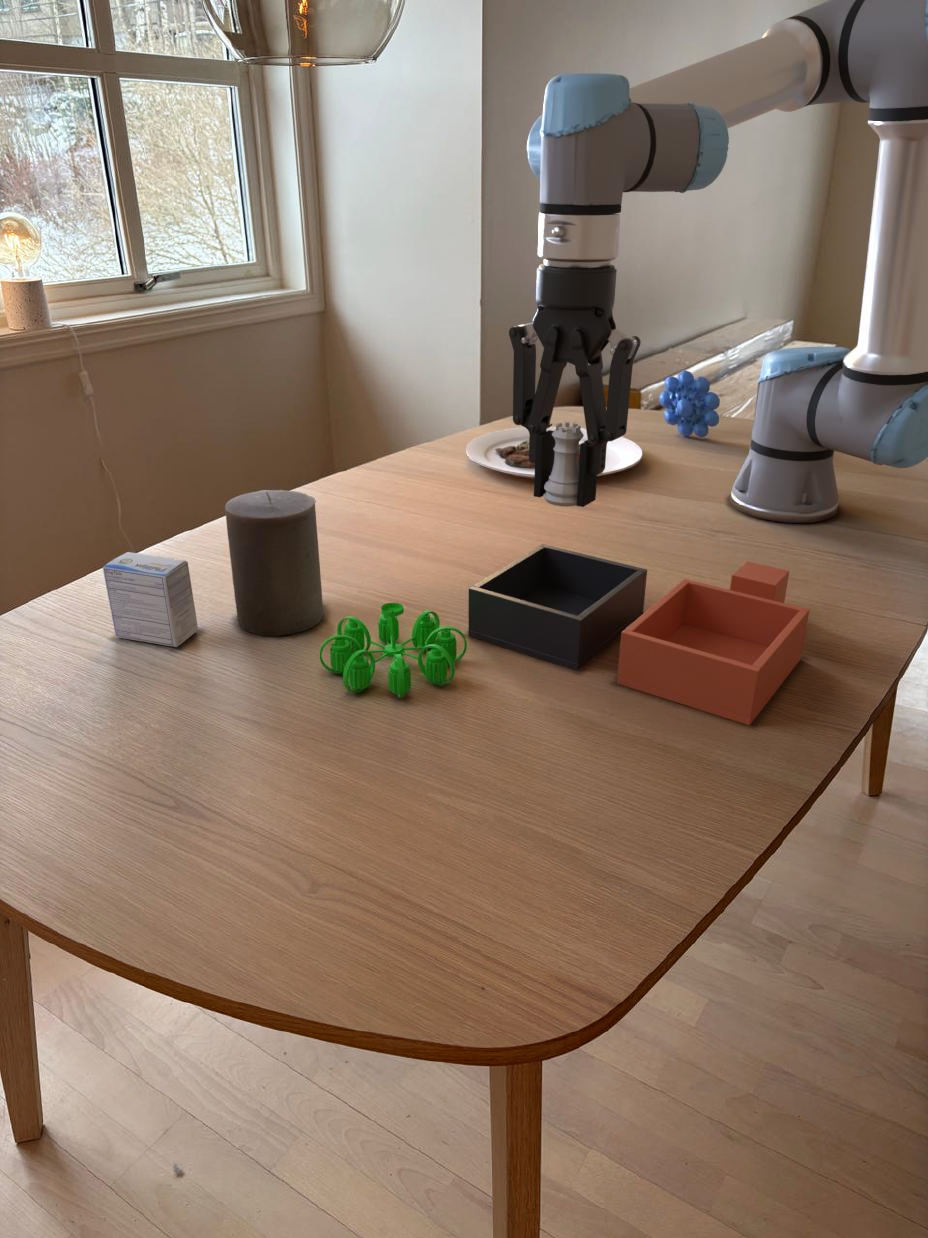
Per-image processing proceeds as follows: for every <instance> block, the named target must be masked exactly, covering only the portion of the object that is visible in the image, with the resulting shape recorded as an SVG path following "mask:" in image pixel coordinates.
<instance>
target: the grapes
mask: <svg viewBox="0 0 928 1238" xmlns="http://www.w3.org/2000/svg"><path fill="white" fill-rule="evenodd" d="M664 388H665V390H664V391H661V392H660V394H659V395H658V402H659V404H660V405H661V407H663V408H665V409H666V410H665V411H664V413H663V418H664V420H665V422H666V423H667V424H668V425H671V426H676V425H677V426H676V428H677V429H676V430H677V432H678V434H680V435H681V436H683V437H690V436H691V435H692V434H693V433H694V435H695V436H696V437H698V438H704V437H706V436H707V435H708V434H709V427H711V428H714V427H716V426H718V424H719V423H720V415H719V413H718V412H717V411H716V410H717V409H718V408H719V407H720V404H721V399H720V397H719V395H718V394H717V393H715V392H713V391H710V389H711V383H710V381H709V380H708V378H707V377H704V376H701V375H700V376H697V377H696V378H695V376H694V374H693V373H692V372H691V371H689V370H686V369H684V370H681V371H680V372H679V373H678V376H677V377H676V376H672V375H670V376H667V377H666V378H665V379H664Z"/></svg>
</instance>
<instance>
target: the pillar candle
mask: <svg viewBox="0 0 928 1238" xmlns="http://www.w3.org/2000/svg"><path fill="white" fill-rule="evenodd" d="M316 502H317V500H316V498H315V497H314V496H311V495H309V494H306V493H303V492H301V491H295V490H285V489H276V490H275V489H263V490H261V489H260V490H258V491H252V492H248V493H244V494H240V495H238V496H235V497H232V498H231V499H228V501H227V502H226V504H225V507H224V510H225V522H226V532H227V541H228V549H229V557H230V567H231V574H232V576H231V577H232V586H233V593H234V602H235V610H236V616H237V622H238V625H239V627H240V628H241V629H243V630H245V631H246V632H250V633H253V634H255V635H259V636H266V637H278V636H289V635H292V634H297V633H301V632H304V631H307V630H309V629H311V628H313V627H315V626H316V625H317V624H319V623H320V622H321V621H322V619H323V617H324V603H323V590H322V578H321V577H322V576H321V561H320V549H319V538H318V537H319V536H318V526H317V525H318V524H317V512H316V511H317V510H316Z"/></svg>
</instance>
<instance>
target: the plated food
mask: <svg viewBox="0 0 928 1238" xmlns="http://www.w3.org/2000/svg"><path fill="white" fill-rule="evenodd" d="M555 429H556V425H552V426H551V427H549V428H547V430H546V431H549V430H551V431H554V430H555ZM581 432H582V433H583V435H584V436H583V438H582V439H581V440H580V441H579V448H580V444H581V443H583V442H584V441H585V440H588V438H587V430H586V427H585V428H583V427H581ZM529 436H530V435H529V431H528V430H527V429H526V428H525V427H523V426H518V427H511V428H504V429H498V430H493V431H490V432H487V433H484V434H480V435H479V436H476V437H474V438H473V439H471V440H470V441H469V442H468V443H467V445H466V447H465V452H466V456H467V457H468V458H469V459H470V461H473V462H474V463H476V464H477V465H479V466H482V467H485V468H487V469H489V470H494V471H498V472H501V473H504V474H507V475H511V476H515V477H521V478H525V479H534V477H535V463H531V462H530V460H529ZM555 445H556V441H555ZM579 458H580V451H579V453H578V466H579ZM642 458H643V449H642V448H641V447H640V446H639V445H638V443H636V442H634V441H632V440H630V439H629V438H626V437H624V436H622V437H620V438H618V439H616V440H613V441H608V443H607V448H606V462H605V469H604V471H603V472H602V473H600V474H598V475H597V477H600V476H601V477H602V476H606V475H611V474H616V473H619V472H623V471H625V470H628V469H630V468H633V467H634V466H636V465H637V464H639V463H640V462H641V460H642ZM554 459H555V453H554Z"/></svg>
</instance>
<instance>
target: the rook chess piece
mask: <svg viewBox="0 0 928 1238" xmlns="http://www.w3.org/2000/svg"><path fill="white" fill-rule="evenodd" d="M555 426H556V429H555V430H554V432H553V433H552V436H553V437H554V439H555V441H556V445H555V447H554V448H553V449H554V451H555V459H554V464H553V469H552V472H551V475H550V476H549V480H548V481H547V482H546V483H545V485H544V489H545V490H546V492H545V493H544V494H543V496H542V497H543V498H544V500H545V502H547V503H548V504H550V505H553V506H557V507H574V506H576V507H577V492H578V475H579V466H578V453H579V451H580V448H579V441H580V440H581V439H582V438H583V436H584V435H583V433H582V432H581V428H582V426H581V424H579V423H576V422H573V423H572V426H570V422H569V421H567V422H566V421H565V422H564V426H563V423H562V422H558V423H557V424H555Z"/></svg>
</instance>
